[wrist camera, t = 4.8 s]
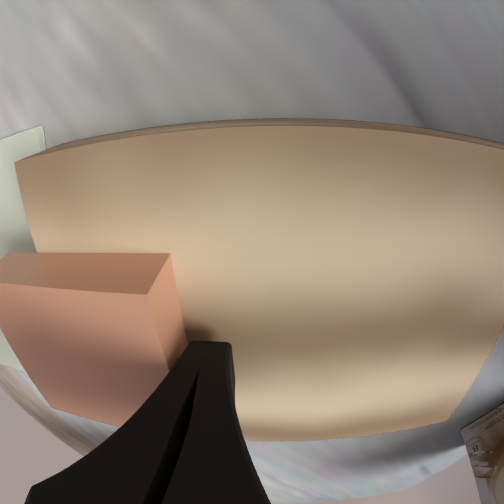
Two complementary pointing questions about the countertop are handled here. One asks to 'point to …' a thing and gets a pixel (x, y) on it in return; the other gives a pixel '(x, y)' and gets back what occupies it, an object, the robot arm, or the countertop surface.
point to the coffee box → (487, 454)
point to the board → (303, 257)
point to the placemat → (15, 210)
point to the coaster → (92, 327)
